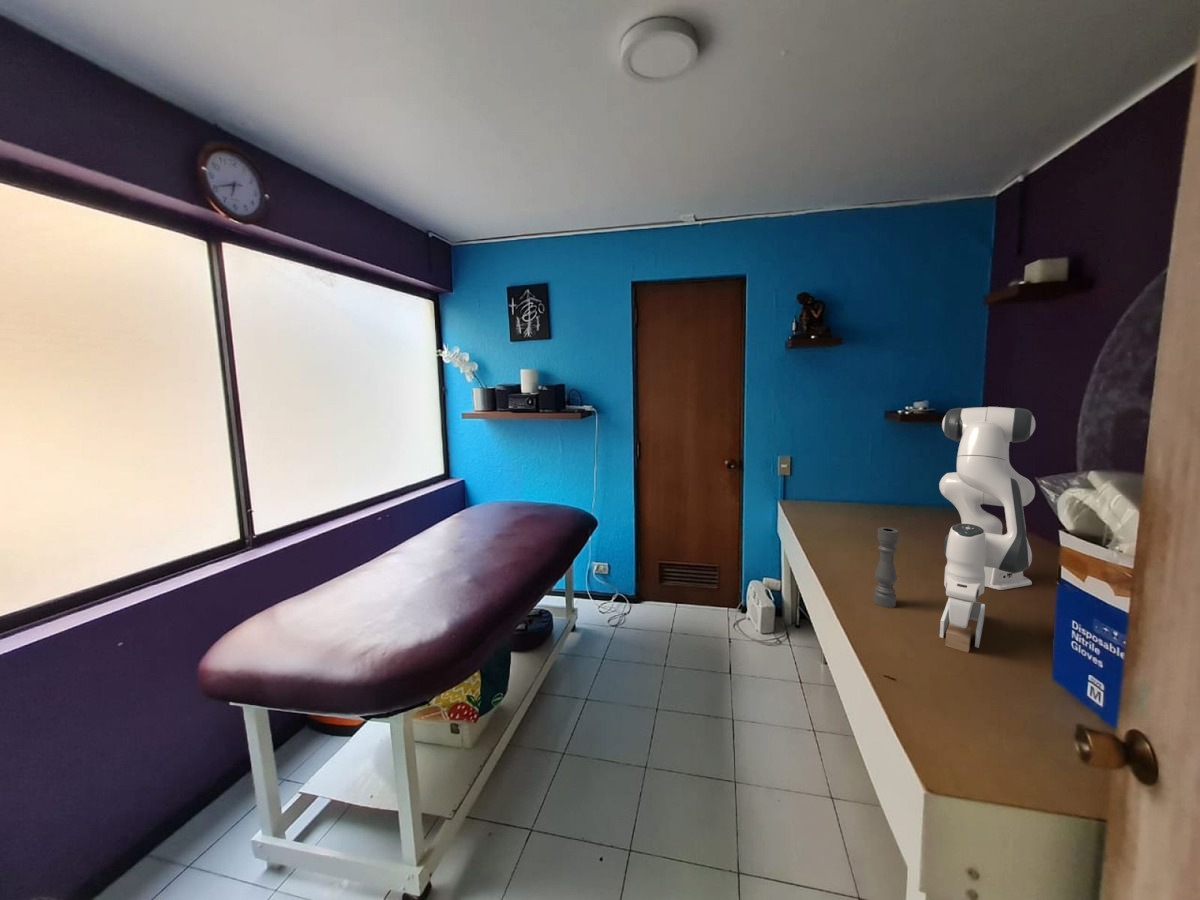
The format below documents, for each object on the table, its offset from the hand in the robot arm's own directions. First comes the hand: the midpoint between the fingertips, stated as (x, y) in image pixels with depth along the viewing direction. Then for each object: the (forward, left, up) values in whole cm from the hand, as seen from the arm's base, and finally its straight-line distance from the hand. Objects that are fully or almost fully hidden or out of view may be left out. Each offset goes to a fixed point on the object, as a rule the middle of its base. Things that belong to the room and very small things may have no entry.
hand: (960, 629), depth 130 cm
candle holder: (+8, -21, -2) cm, 23 cm away
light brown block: (+4, +3, -2) cm, 5 cm away
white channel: (-4, -4, -2) cm, 6 cm away
